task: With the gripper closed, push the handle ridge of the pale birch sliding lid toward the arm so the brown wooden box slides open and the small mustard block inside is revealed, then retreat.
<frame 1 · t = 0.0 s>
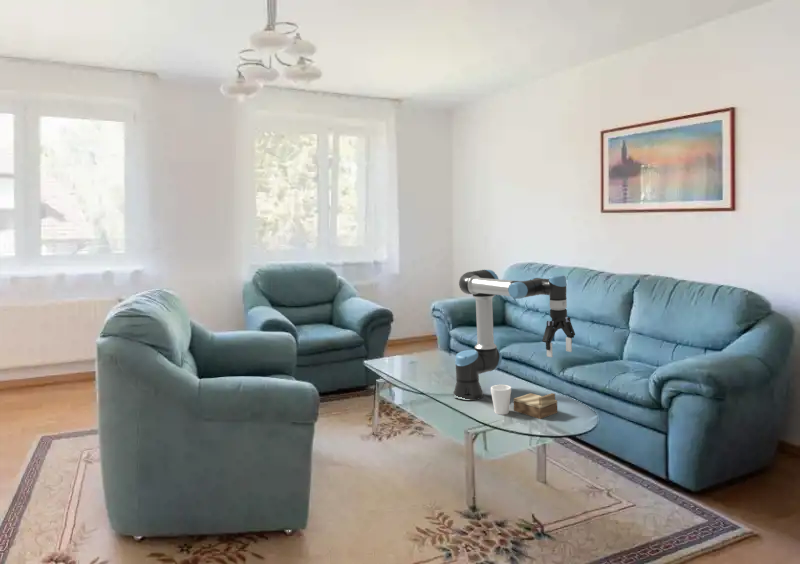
hand: (559, 354, 278), 28 cm above the table, fingers open, 13 cm apart
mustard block: (542, 413, 278), point 1 cm above the table, touching brown wooden box
foam cup: (501, 414, 283), on the table
brown wooden box: (535, 413, 281), on the table
lid: (535, 397, 280), point 8 cm above the table, slide at 0.0 cm
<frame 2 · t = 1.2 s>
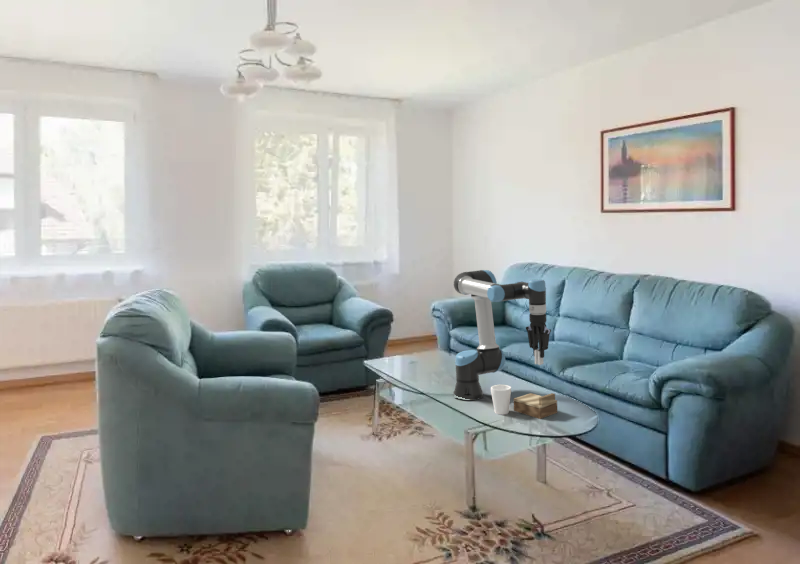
hand: (539, 363, 276), 24 cm above the table, fingers closed
nothing on the table moved.
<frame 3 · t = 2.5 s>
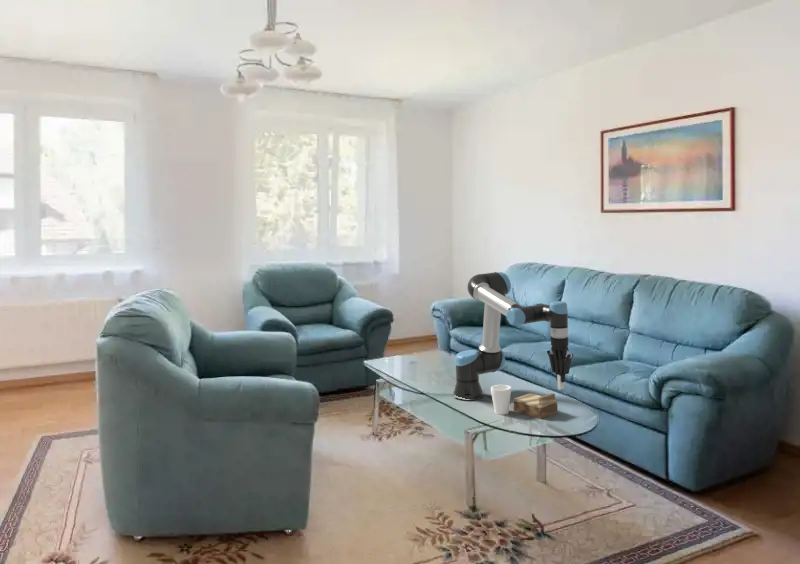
hand: (561, 388, 267), 15 cm above the table, fingers closed
nothing on the table moved.
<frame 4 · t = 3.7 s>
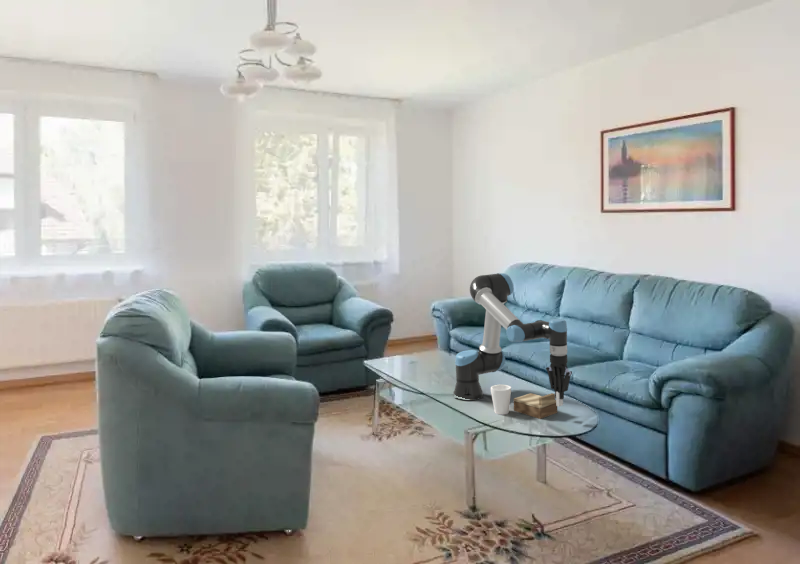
hand: (559, 405, 269), 7 cm above the table, fingers closed
nothing on the table moved.
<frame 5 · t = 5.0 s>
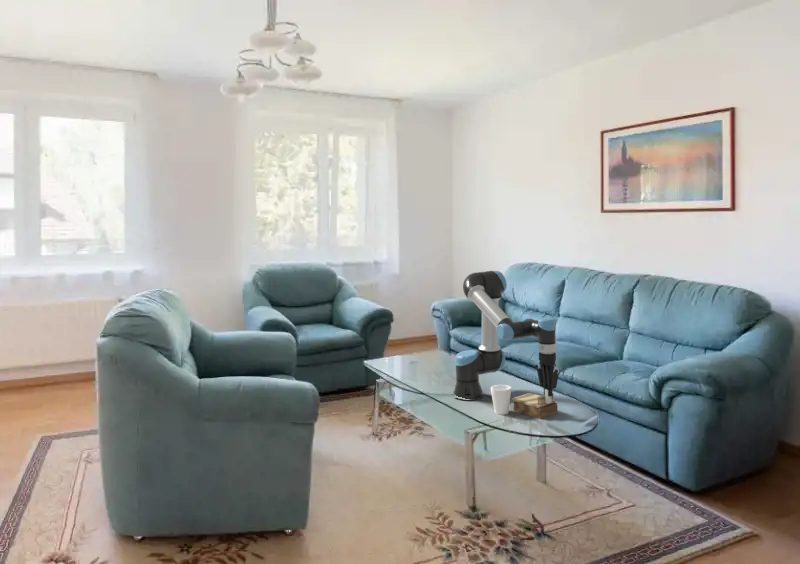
hand: (548, 402, 274), 7 cm above the table, fingers closed
lid: (533, 396, 281), point 8 cm above the table, slide at 0.9 cm, touching gripper
everything else where it was.
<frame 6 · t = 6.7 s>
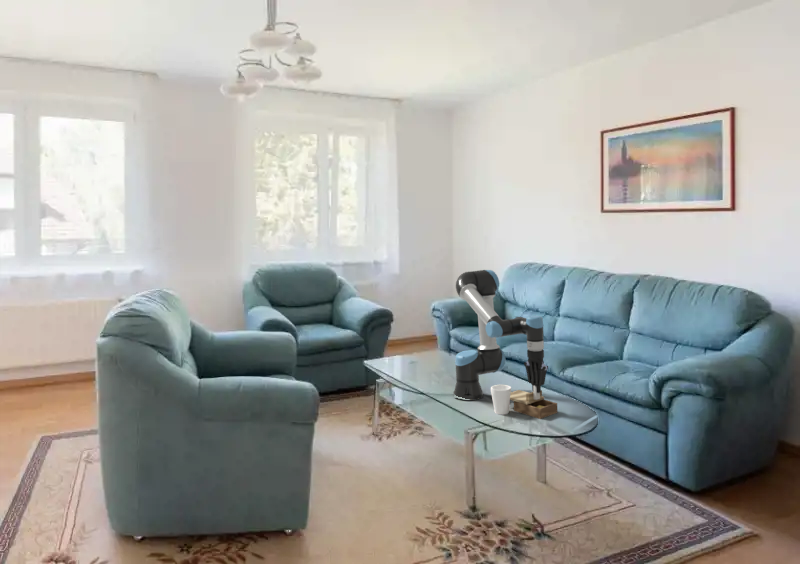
hand: (536, 398, 280), 7 cm above the table, fingers closed
lid: (522, 393, 287), point 8 cm above the table, slide at 7.7 cm, touching gripper
everything else where it was.
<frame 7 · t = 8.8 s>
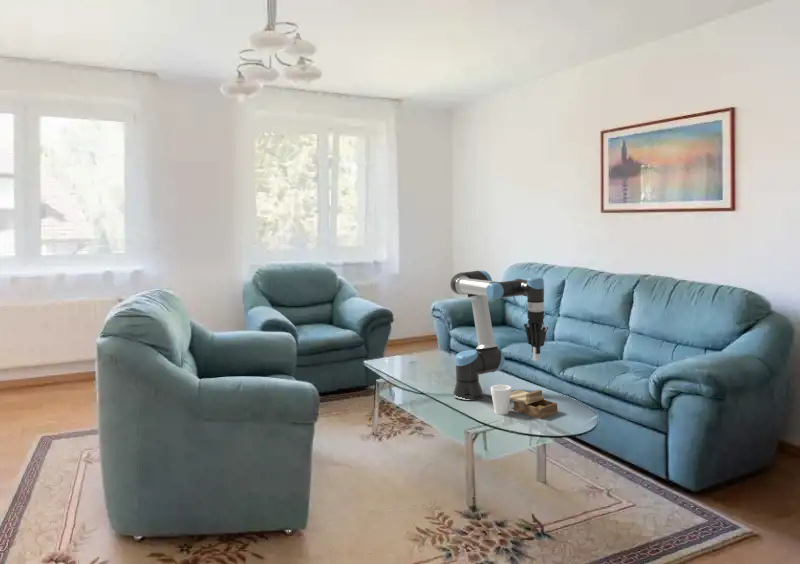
hand: (536, 360, 281), 25 cm above the table, fingers closed
lid: (522, 393, 287), point 8 cm above the table, slide at 7.7 cm
everything else where it was.
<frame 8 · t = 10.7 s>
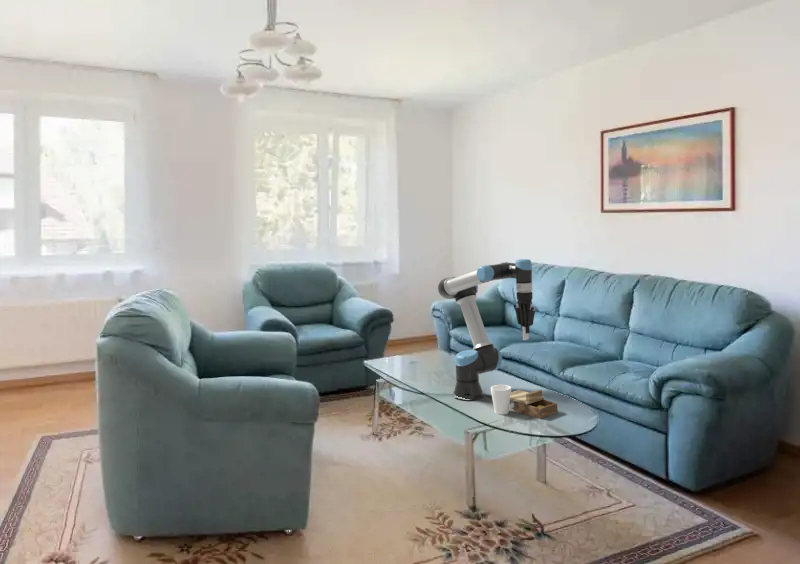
hand: (525, 339, 292), 32 cm above the table, fingers closed
nothing on the table moved.
at the end: lid slide at 7.7 cm; foam cup moved 0.2 cm from its start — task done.
